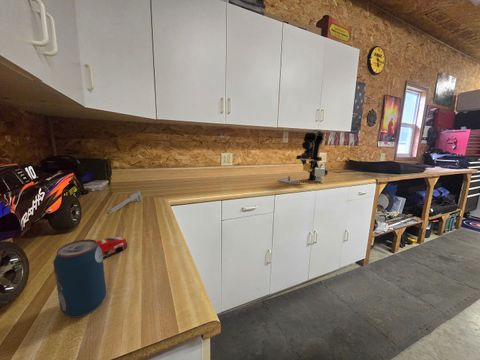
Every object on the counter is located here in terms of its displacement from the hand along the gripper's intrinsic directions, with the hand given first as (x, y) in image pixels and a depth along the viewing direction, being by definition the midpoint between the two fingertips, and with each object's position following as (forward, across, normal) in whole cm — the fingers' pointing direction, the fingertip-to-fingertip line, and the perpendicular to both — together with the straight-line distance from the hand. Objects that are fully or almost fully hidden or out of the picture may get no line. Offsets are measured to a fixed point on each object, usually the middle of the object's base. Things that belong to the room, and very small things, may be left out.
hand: (307, 169), depth 163 cm
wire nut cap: (+1, 0, 0) cm, 1 cm away
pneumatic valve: (+11, +3, +14) cm, 18 cm away
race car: (+12, +15, -142) cm, 143 cm away
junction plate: (+11, -12, -7) cm, 18 cm away
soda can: (+11, +33, -148) cm, 152 cm away
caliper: (+12, -25, -124) cm, 127 cm away
